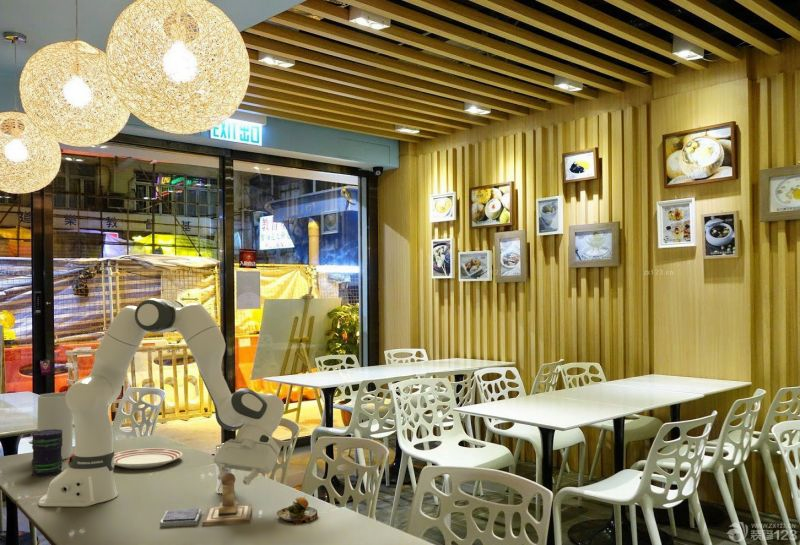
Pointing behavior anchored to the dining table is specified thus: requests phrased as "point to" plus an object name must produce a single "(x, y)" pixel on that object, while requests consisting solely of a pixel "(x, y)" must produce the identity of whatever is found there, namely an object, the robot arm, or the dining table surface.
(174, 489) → the dining table surface
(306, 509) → the plate of salad
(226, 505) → the stamp
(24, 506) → the dining table surface
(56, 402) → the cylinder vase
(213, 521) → the board
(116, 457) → the dinner plate
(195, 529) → the dining table surface
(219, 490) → the beer glass
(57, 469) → the storage jar
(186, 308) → the robot arm
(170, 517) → the ink pad
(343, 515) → the dining table surface
